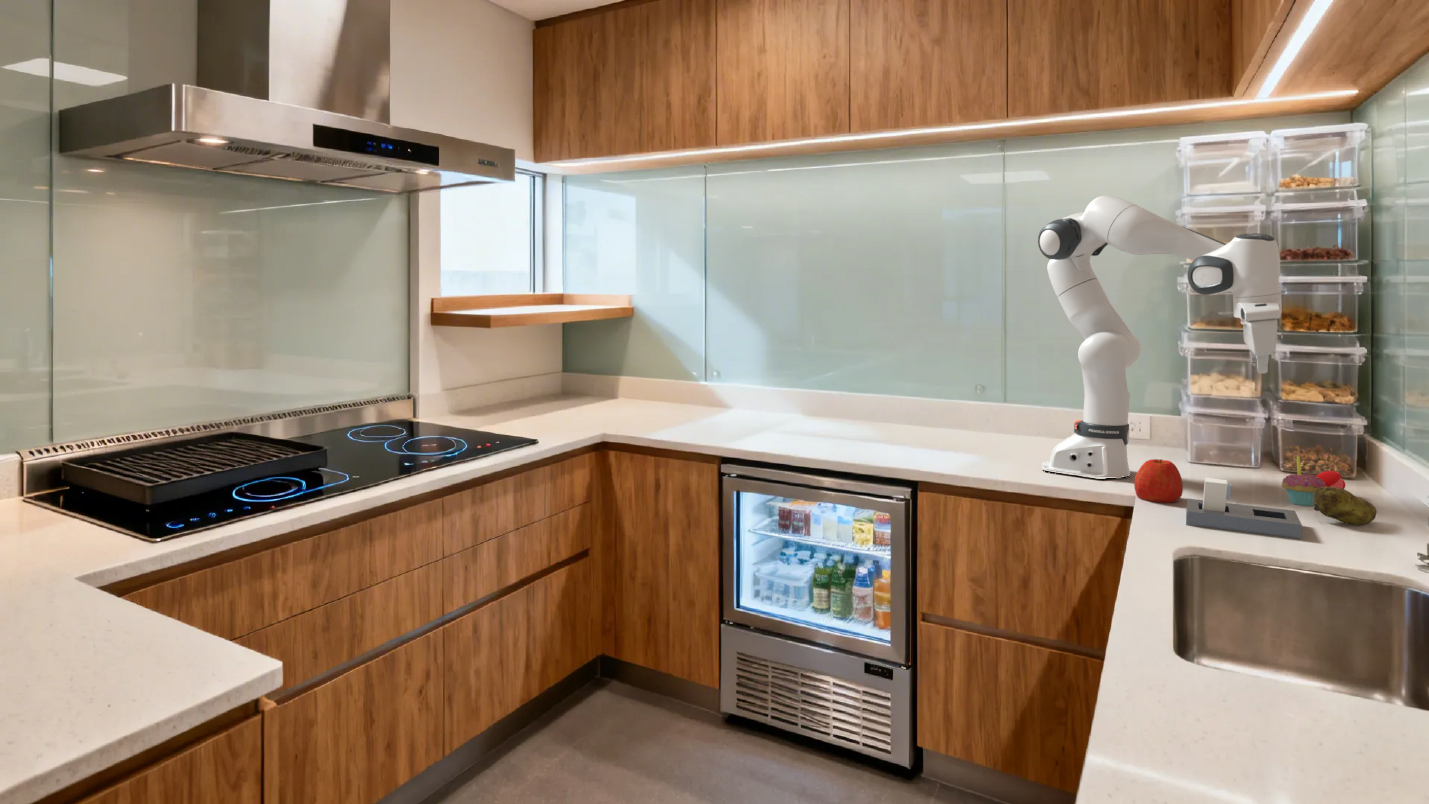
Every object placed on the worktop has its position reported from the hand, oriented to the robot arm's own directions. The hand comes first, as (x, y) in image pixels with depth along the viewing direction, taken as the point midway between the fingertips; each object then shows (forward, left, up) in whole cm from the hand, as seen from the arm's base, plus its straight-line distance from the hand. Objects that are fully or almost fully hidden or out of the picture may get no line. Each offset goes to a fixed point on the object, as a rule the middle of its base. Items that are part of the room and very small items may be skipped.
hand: (1259, 369), depth 180 cm
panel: (-2, -15, -33) cm, 36 cm away
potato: (+18, 0, -33) cm, 38 cm away
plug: (-7, -15, -32) cm, 36 cm away
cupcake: (+12, +15, -33) cm, 38 cm away
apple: (-18, 0, -33) cm, 38 cm away
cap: (+18, +27, -33) cm, 46 cm away
